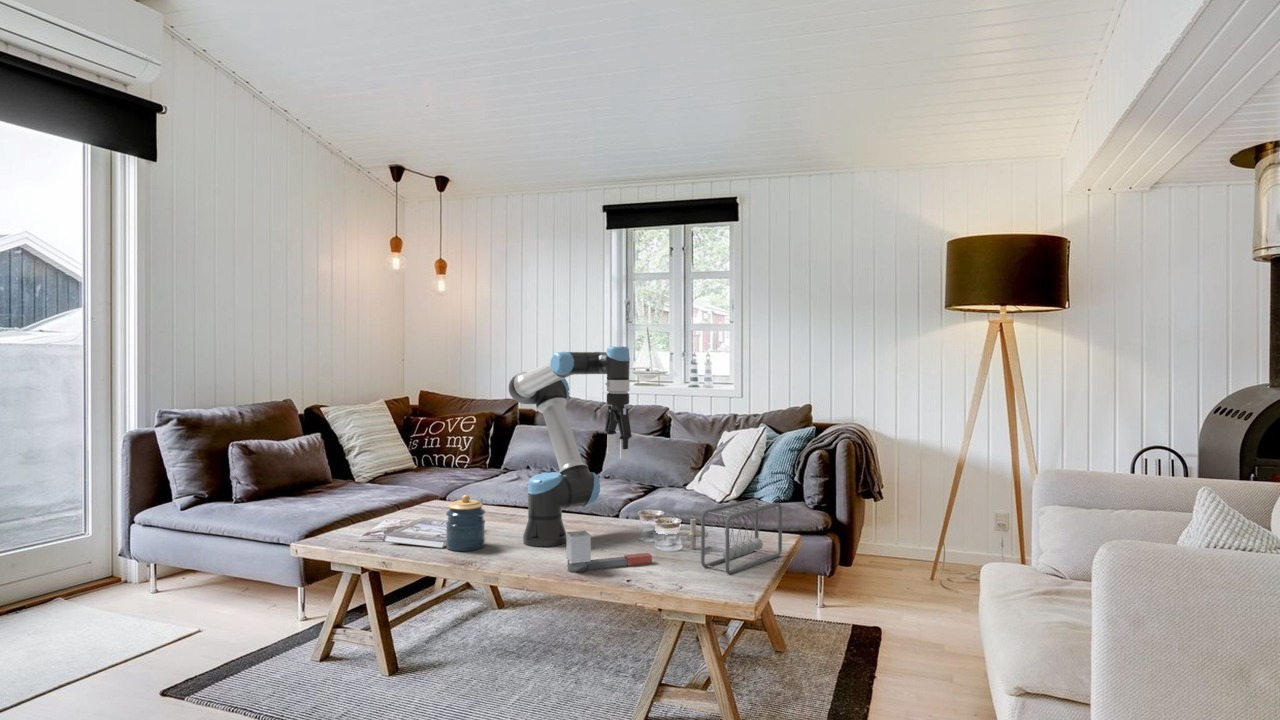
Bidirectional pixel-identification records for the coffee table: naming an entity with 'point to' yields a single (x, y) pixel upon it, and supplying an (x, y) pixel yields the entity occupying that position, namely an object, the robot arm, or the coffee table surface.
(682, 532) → the beige peg jack
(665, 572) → the coffee table surface
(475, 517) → the canister
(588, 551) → the light grey block
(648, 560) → the ratchet
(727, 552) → the newton's cradle
